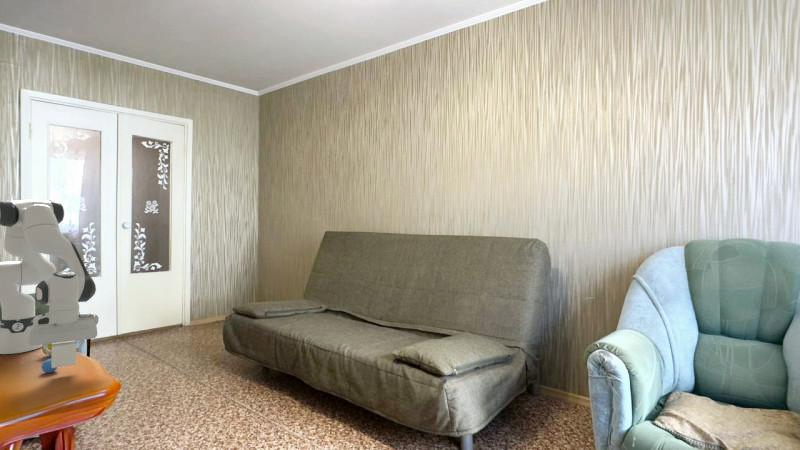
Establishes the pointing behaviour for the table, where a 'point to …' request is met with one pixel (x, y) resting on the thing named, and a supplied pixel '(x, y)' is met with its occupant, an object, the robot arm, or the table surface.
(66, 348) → the matte ivory cube
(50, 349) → the lemon
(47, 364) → the ball
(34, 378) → the table surface
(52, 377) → the table surface
